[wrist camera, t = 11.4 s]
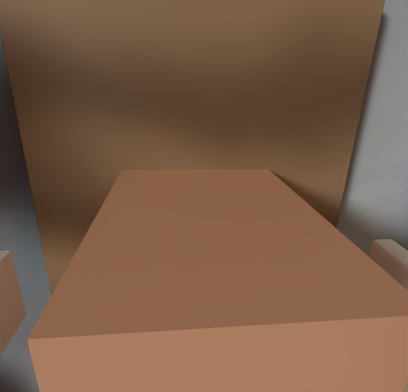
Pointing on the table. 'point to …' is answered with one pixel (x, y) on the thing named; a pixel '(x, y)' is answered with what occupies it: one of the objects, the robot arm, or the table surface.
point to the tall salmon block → (219, 295)
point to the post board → (182, 97)
